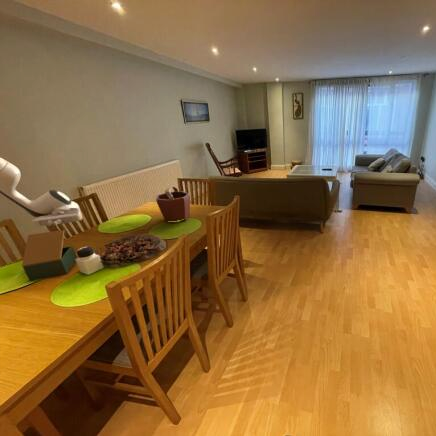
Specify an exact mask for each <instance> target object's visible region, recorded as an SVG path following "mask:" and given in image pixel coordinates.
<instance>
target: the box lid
mask: <svg viewBox="0 0 436 436" xmlns="http://www.w3.org/2000/svg"><path fill="white" fill-rule="evenodd" d="M64 239H65V229H63V230H62V229H60V230H54V231H45V232H39V233H32V234H28V235H27V238H26V244H25V248H24V253H23V258H22V263H21V267H23V266H28V265H34V264H39V263H45V262H51V261H56V260H61V256H62V248H63V247H64Z"/></svg>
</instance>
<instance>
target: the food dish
mask: <svg viewBox="0 0 436 436" xmlns="http://www.w3.org/2000/svg"><path fill="white" fill-rule="evenodd" d="M103 247H105V249H104V251H103V252H102V253H101V254H99V252H100V250H102V249H103V248H102V247H101V246H100V247H98V248H99V249H98V248H97V249H96V250H94V253H95V254H96V255H99V256H100V258H101V261H100V262H102V264H103V267H104V268H109V267H110V268H119V267H126V266H130V265H132V264H134V263H141V262H144V261H146V260H150V259H152V258H155V257H156V256H158V254H159V253H161V252H163V251H164V250H165V249H166V248H167V243H166V241H165V240H164V239H163V238H161V237H160V236H159V235H156V234H152V233H151V234H150V233H142V234H135V235H134V234H133V235H130V236H126V237H125V236H124V237H121V238H119V239H115V240H113V241H110V242H107V244H104V245H103Z"/></svg>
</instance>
